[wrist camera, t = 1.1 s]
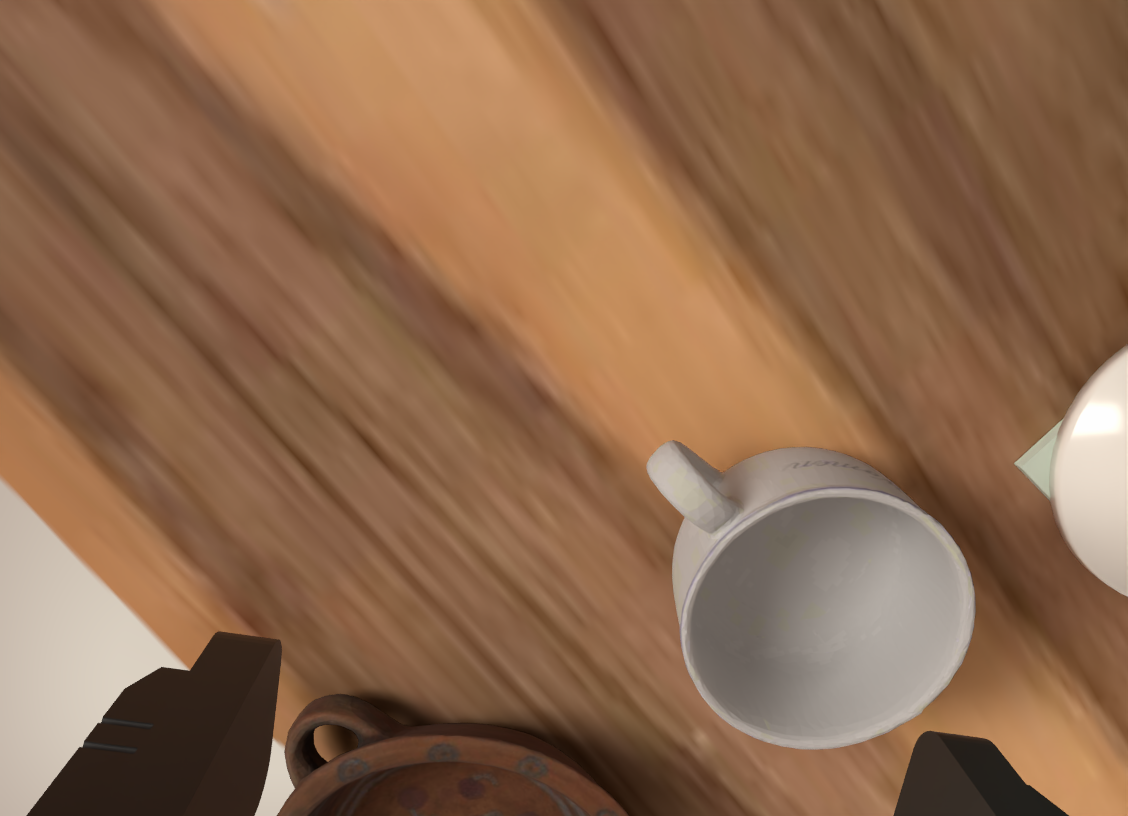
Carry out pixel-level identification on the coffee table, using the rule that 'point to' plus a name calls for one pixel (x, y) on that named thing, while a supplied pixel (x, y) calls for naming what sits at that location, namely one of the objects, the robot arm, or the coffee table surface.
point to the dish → (432, 770)
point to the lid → (1095, 474)
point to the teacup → (812, 594)
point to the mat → (1039, 461)
